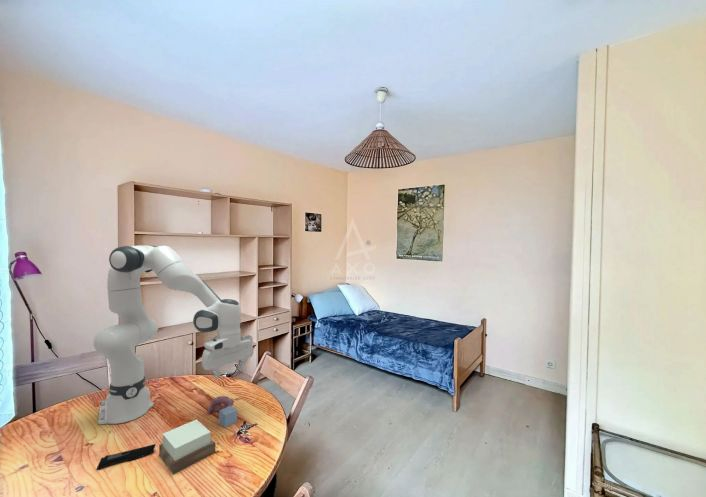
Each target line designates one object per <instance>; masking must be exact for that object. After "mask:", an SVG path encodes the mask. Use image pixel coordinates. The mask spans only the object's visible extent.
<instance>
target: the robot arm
mask: <svg viewBox="0 0 706 497" xmlns="http://www.w3.org/2000/svg"><path fill="white" fill-rule="evenodd" d="M108 258H109V259H108V262H109V265H110V268H109V269H108V273H107V286H106V288H107V300H108V309H109V310H110V311H111V313H113V314H117V315H118V316H119V319H120V321H121V322H120V323H119V324H115V325H112V326H111V325H110V326H109V327H107V328H105V329H103V330H102V331H100V332H98V333H97V334H95V336H94V338H93V347H94V350H95V352H97V353H98V354H100V355H102V356H104V357H105V358H106V359H107V361H108V363H109V365H110V384H109V387H108V393H107V395H106V398H105V399H104V400H101V401H100V407H99V411H98V419H97V420H98V421H97V425H106V424H108V425H109V424H111V425H117V424H123V423H126V422H130V421H134V420H136V419H138V418H139V417H142V416H144V415H145V414H146V413H147V412H148V410H150V409H151V408H152V407H154V406H155V404H154V402H153V401H151V399H150V388H149V387H147V386H146V376H145V359H144V358H143V357H141V356H140V355H137V354H136V351H135V350H136V349H135V348H136V346H139V345H141V344H144V343H146V342H148V341H150V340H151V339H153V338H154V337H155V336H156V335H157V333H158V331H159V325H158V323H157V320H155V319H154V318H152V317H151V316H149V314H148V313H147V311H146V309H145V307H144V304H143V296H142V287H141V275H142V274H143V273H144V272H145V273H146V274H147V273H150V272H154V274H155V275H156V277H157V278H158V280H160V282H161V283H162V284H163V285H164V286H165V287H166V288H168V289H170V290H172V291H173V290H174V291H181V292H185V293H189V294H192V295H194V296H196V298H198V299H199V301H200V302H201V303H203V305H204V306H205V307H204V308H201V309H200V310H198V311H196V312H195V314H194V315H193V320H192V322H193V327H194V328H195V329H196V331H198V332H200V333H210V332H214V331H216V333H217V335H216V336H214V337H212V338H211V339H209V340H207V341H205V342H204V345H203V346H204V348H205V349H204V350H203V352H202V357H201V367H202V369H203V370H205V371H209V370H210V371H212V372H213V373H214V378H215V379H219V378H221V373H220V371H218V368H221V367H224V366H225V365H226V366H227V365H229V364H230V365H231V364H233V363H236V362H238V361H240V362H239V363H238V365H236V370H237V371H242V370H243V369H244V368H243V366H244V364H245V362H246V359H248V358H252V357H253V355H254V346H253V345H254V344H253V336H252V335H249V334H247V335H242V330H241V327H240V326H241V322H242V314H241V312H242V311H241V310H242V309H241V306H240V303H239V302H238V301H237V300H235V299H231V298H224V299H221V298H220V297H219V296H218V295H217V294H216V293H215V291H214V290H213V289H211V287H210V286H209V285H208V284H207V283H206V282H205V281H204V280H203V279H202V278H201V277H199V276H198V275H197V274H196V273H194V271H193V270H192V269H191V267H189V266H188V265H187V263H186V262H185V261H184V260H183V258H182V257H181V256H180V255H179V254H178V253H177V252H176V251H175V250H174V249H173V248H172V247H170V246H169V245H159V246H158V245H157V246H156V245H147V244H146V245H145V244H137V245H124V246H123V245H122V246H120V247H115V248H114V249H113V250H112V251H111V252H110V254H109V257H108Z"/></svg>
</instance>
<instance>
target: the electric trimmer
mask: <svg viewBox="0 0 706 497" xmlns="http://www.w3.org/2000/svg"><path fill="white" fill-rule="evenodd" d="M156 444H157V443H153V444H150V445H145V446H142V447H138V448H133V449H130V450H125V451H122V452H117V453H113V454H109V455H105V456H103V457H101V458H100V460H99V462H98V466H96V469H95V470H96V471H100V470H101V469H103V468H104V467H109V466H111V465H114V464H119V463H122V462H125V461H130V462H131V461H133V460H136V459H140V458H142V457H144V456H148V455H149V454H152V453H153V452H154V451H155V448H156Z"/></svg>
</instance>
